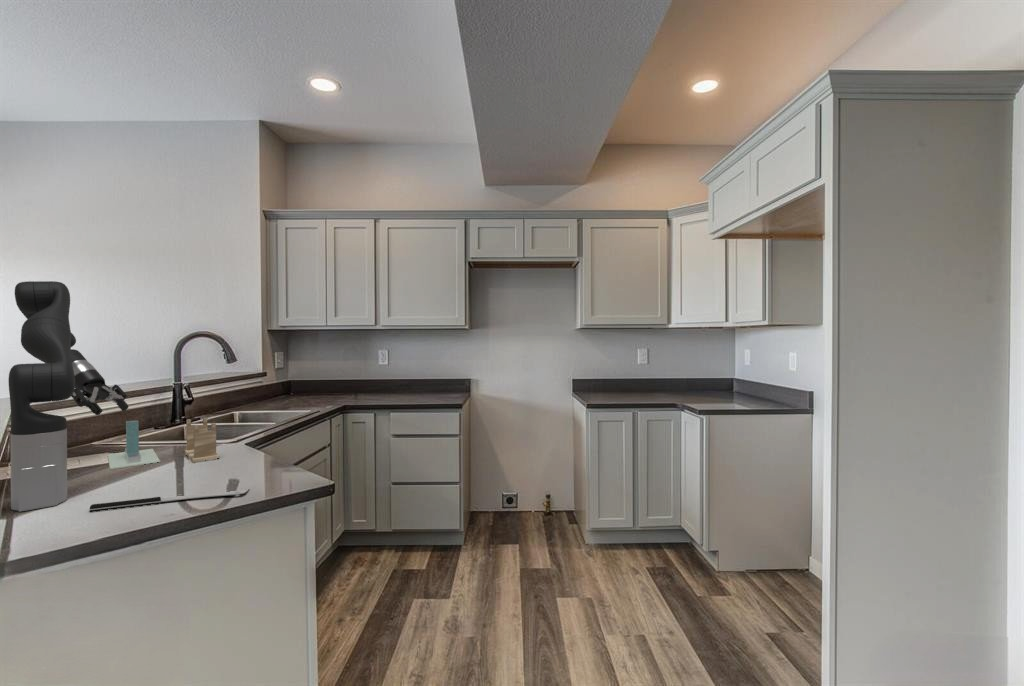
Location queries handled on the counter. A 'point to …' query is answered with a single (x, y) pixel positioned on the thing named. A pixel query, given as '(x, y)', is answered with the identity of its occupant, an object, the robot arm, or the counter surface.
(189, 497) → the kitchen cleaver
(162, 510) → the counter surface
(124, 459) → the mat
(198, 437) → the rack
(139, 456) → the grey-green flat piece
